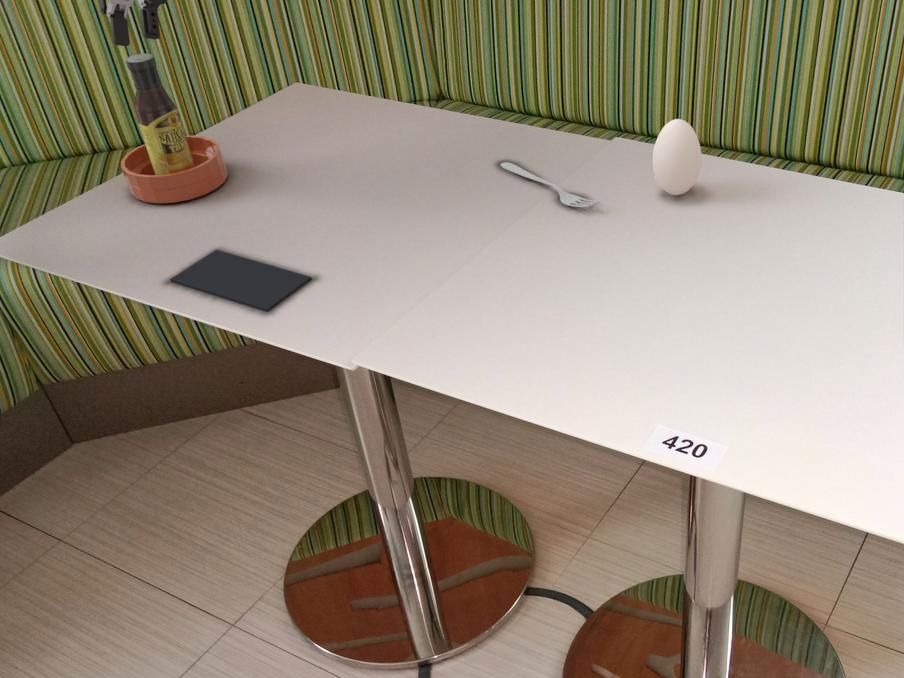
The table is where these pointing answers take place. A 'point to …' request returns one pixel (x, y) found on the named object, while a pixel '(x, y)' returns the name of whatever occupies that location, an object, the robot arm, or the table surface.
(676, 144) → the egg
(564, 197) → the fork
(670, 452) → the table surface
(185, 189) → the bowl
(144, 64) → the sauce bottle
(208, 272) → the mat
